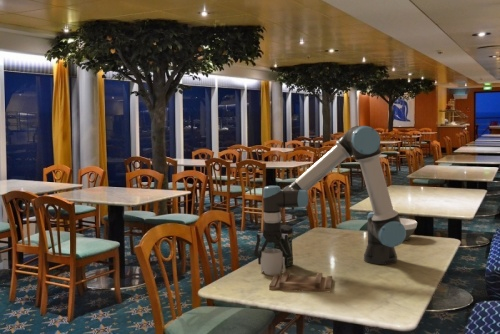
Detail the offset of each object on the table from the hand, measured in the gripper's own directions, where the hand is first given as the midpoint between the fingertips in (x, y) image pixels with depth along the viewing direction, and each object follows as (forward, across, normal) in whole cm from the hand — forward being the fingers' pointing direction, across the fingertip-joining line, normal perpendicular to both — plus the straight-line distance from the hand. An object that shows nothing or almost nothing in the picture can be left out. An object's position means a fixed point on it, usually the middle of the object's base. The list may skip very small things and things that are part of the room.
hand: (273, 271), depth 242 cm
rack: (0, -14, +16) cm, 21 cm away
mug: (0, 0, 0) cm, 1 cm away
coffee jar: (0, -3, -12) cm, 12 cm away
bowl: (0, -59, -72) cm, 93 cm away
